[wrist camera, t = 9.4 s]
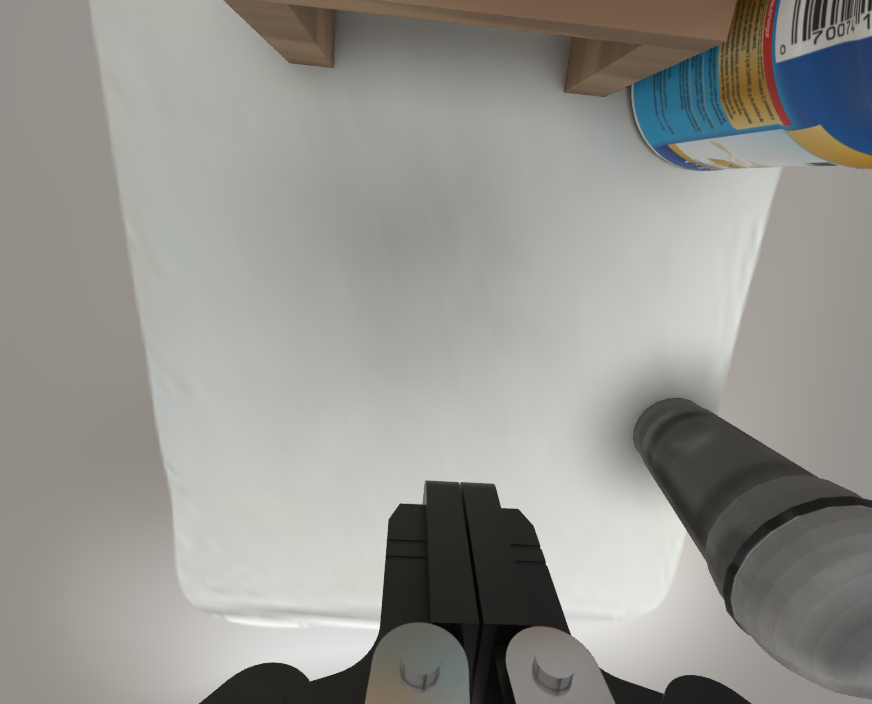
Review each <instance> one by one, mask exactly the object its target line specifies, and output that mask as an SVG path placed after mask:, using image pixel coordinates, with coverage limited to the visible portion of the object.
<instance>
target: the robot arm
mask: <svg viewBox="0 0 872 704" xmlns="http://www.w3.org/2000/svg"><path fill="white" fill-rule="evenodd" d="M199 704H751V703H750V702H748V701H747V700H746V699H744V698H743V697H742V696H740V695H739V694H737V693H736V692H735V691H733V690H732V689H730V688H728V687H727V686H725V685H723V684H721V683H719V682H717V681H714V680H712V679H709V678H706V677H702V676H696V675H685V676H681V677H678V678H676V679H674V680H672V681H671V682H670V683H669V685H668V686H667V688H666V690H665V693H664V694H662V693H659V692H657V691H654V690H651V689H648V688H645V687H642V686H639V685H636V684H633V683H630V682H627V681H624V680H622V679H619V678H617V677H614V676H612V675H610V674H609V673H607V672H605V671H604V670H602V669H601V668H599V666H598V664H597V663H596V661H595V659H594V657H593V656H592V655H591V653H590V652H589V651H588V650H587V649H586V647H585V646H584V645H583V644H582V643H580V642H579V641H578V640H577V639H575V638H574V637H572V636H571V633H570V631H569V628H568V625H567V622H566V619H565V617H564V614H563V611H562V608H561V605H560V602H559V599H558V596H557V593H556V590H555V587H554V584H553V581H552V579H551V576H550V573H549V570H548V567H547V566H546V561H545V558H544V555H543V552H542V549H540V543H539V541H538V538H537V535H536V532H535V529H534V526H533V525H532V524H531V523H530V521H529V520H528V519H527V518H526V517H525V516H524V515H523V514H522V513H521V511H520V510H519V509H507V508H501V506H500V502H499V498H498V494H497V490H496V487H495V485H494V484H486V483H467V482H461V483H460V485H459V482H445V481H425V485H424V495H423V505H420V504H399V506H398V507H397V509H396V510H395V511H394V513H393V514H392V516H391V517H390V518H389V523H388V535H387V548H386V560H385V572H384V585H383V597H382V610H381V622H380V630H379V634H378V637H377V640H376V641H375V643H374V645H373V647H372V648H371V650H370V651H369V652H368V654H367V655H366V656H365V657H364V658H363V659H361V660H360V661H359V662H358V663H356V664H355V665H354V666H352V667H351V668H348V669H346V670H344V671H342V672H339V673H336V674H333V675H330V676H327V677H324V678H321V679H317V680H314V681H311V682H310V681H309V679H308V678H307V677H306V676H305V675H304V674H303V673H302V672H300V671H299V670H298V669H296V668H295V667H292V666H290V665H287V664H283V663H263V664H259V665H255V666H252V667H249V668H247V669H245V670H243V671H241V672H239V673H237V674H236V675H234V676H233V677H232V678H230V679H229V680H227V681H226V682H225V683H224V684H222V685H221V686H220V687H219V688H218V689H216V690H215V691H214V692H213V693H212V694H210V695H209V696H208V697H207V698H206V699H204V700H203V701H202V702H201V703H199Z"/></svg>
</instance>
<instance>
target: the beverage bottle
mask: <svg viewBox="0 0 872 704" xmlns="http://www.w3.org/2000/svg"><path fill="white" fill-rule="evenodd" d="M631 97H632V107H633V112H634V117H635V120H636V123H637V126H638V128H639V130H640V132H641V134H642V136H643V138H644V139H645V141H646V142H647V144H648V145H649V146H650V147H651V149H652V150H653V151H654V152H655V153H656V154H658V155H659V156H660V157H661V158H663V159H664V160H666V161H667V162H669V163H671V164H673V165H676V166H678V167H681V168H685V169H689V170H697V171H712V170H723V169H733V168H765V167H796V166H798V167H799V166H836V165H839V166H843V167H849V168H856V169H872V0H737V2H736V6H735V10H734V14H733V18H732V22H731V26H730V30H729V34H728V38H727V41H726V42H724V43H722V44H720V45H717V46H715V47H713V48H711V49H709V50H706V51H704V52H702V53H700V54H698V55H695V56H693V57H691V58H689V59H687V60H684V61H682V62H680V63H678V64H675V65H673V66H671V67H669V68H667V69H664V70H662V71H660V72H658V73H656V74H653V75H651V76H649V77H647V78H645V79H642V80H640V81H638V82H636V83H633V84H632V87H631Z"/></svg>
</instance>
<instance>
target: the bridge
mask: <svg viewBox="0 0 872 704" xmlns="http://www.w3.org/2000/svg"><path fill="white" fill-rule="evenodd" d="M224 1H225V2H226V3H227V4H228V5H229V6H230V7H231V8H232V9H233V10H234V11H235V12H237V13H238V14H239V15H240V16H241V17H242V18H243V19H244V20H245V21H246V22H247V23H248V24H249V25H250V26H251V27H252V28H253V29H255V30H256V31H257V32H258V33H259V34H260V35H261V36H262V37H263V38H264V39H265V40H266V41H267V42H268V43H269V44H270V45H271V46H273V47H274V48H275V49H276V50H277V51H278V52H279V53H280V54H281V55H282V56H283V57H284V58H285V59H286V60H287V61H288V62H289V63H295V64H304V65H314V66H323V67H332V68H333V67H334V9H336V10H345V11H354V12H362V13H371V14H380V15H388V16H397V17H406V18H414V19H423V20H432V21H440V22H449V23H458V24H467V25H475V26H484V27H493V28H501V29H510V30H519V31H527V32H536V33H545V34H554V35H562V36H571V37H573V39H572V45H571V51H570V58H569V64H568V71H567V77H566V83H565V90H564V92H566V93H575V94H585V95H594V96H603V97H605V96H607V95H609V94H611V93H614V92H616V91H618V90H620V89H622V88H625V87H627V86H629V85H631V84H633V83H636V82H638V81H640V80H642V79H645V78H647V77H649V76H651V75H653V74H656V73H658V72H660V71H662V70H664V69H667V68H669V67H671V66H673V65H675V64H678V63H680V62H682V61H684V60H687V59H689V58H691V57H693V56H695V55H698V54H700V53H702V52H704V51H706V50H709V49H711V48H713V47H715V46H717V45H720V44H722V43H724V42H726V41H727V38H728V34H729V30H730V26H731V22H732V18H733V14H734V10H735V6H736V2H737V0H224Z"/></svg>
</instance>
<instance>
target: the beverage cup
mask: <svg viewBox="0 0 872 704" xmlns="http://www.w3.org/2000/svg"><path fill="white" fill-rule="evenodd" d="M634 442H635V446H636V448H637V450H638V451H639V452H640V455H641V456H642V458H643V460H644V463H645V465H646V467H647V468H648V470H649V471H650V473H651V475H652V476H653V478H654V479H655V481H656V482H657V484H658V486H659V487H660V489H661V490H662V492H663V494H664V495H665V497H666V498H667V500H668V501H669V503H670V505H671V506H672V508H673V509H674V511H675V513H676V514H677V516H678V517H679V519H680V521H681V522H682V524H683V525H684V527H685V528H686V530H687V532H688V533H689V535H690V536H691V538H692V540H693V541H694V543H695V544H696V546H697V547H698V549H699V551H700V552H701V554H702V555H703V557H704V559H705V560H706V562H707V565H708V569H709V572H710V574H711V576H712V578H713V580H714V582H715V585H716V587H717V589H718V591H719V593H720V594H721V596H722V597H723V599H724V600H725V605H726V610H727V612H728V613H729V615H730V616H731V617H732V618H733V619H734V621H735V622H736V624H737V625H738V626H739V627H740V628H741V629H742V630H744V632H745V633H747V634H748V635H750V636H752V638H753V639H754V640H755V641H756V643H757V644H758V645H759V646H760V647H761V648H762V649H763V650H764V651H765V652H766V653H768V654H769V655H770V656H771V657H772V658H773V659H775V660H776V661H777V662H779V663H780V664H782V665H783V666H784V667H786V668H787V669H789V670H791V671H793V672H794V673H796V674H798V675H800V676H802V677H804V678H806V679H807V680H809V681H811V682H813V683H815V684H817V685H818V686H820V687H823V688H826V689H828V690H831V691H834V692H836V693H840V694H845V695H850V696H855V697H861V698H866V699H872V500H867V499H863V498H862V497H860V496H859V495H857V494H856V493H854V492H852V491H850V490H848V489H845V488H843V487H841V486H839V485H837V484H835V483H833V482H830V481H828V480H824V479H820V478H818V477H817V476H815V475H813V474H812V473H810V472H808V471H807V470H805V469H803V468H802V467H800V466H798V465H797V464H795V463H794V462H792V461H790V460H789V459H787V458H785V457H784V456H782V455H781V454H779V453H777V452H776V451H774V450H772V449H771V448H769V447H767V446H766V445H764V444H762V443H761V442H759V441H758V440H756V439H754V438H753V437H751V436H749V435H748V434H746V433H745V432H743V431H741V430H740V429H738V428H736V427H735V426H733V425H731V424H730V423H728V422H726V421H725V420H723V419H722V418H720V417H718V416H717V415H715V414H713V413H712V412H710V411H709V410H707V409H703V408H701V407H700V406H698V405H696V404H694V403H693V402H691V401H689V400H685V399H681V398H674V399H666V400H664V401H661V402H658V403H656V404H654V405H653V406H651V407H650V408H648V409H647V410H646V411H645V412H644V413H643V414H642V416H641V417H640V418H639V420H638V422H637V424H636V426H635V429H634Z"/></svg>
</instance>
